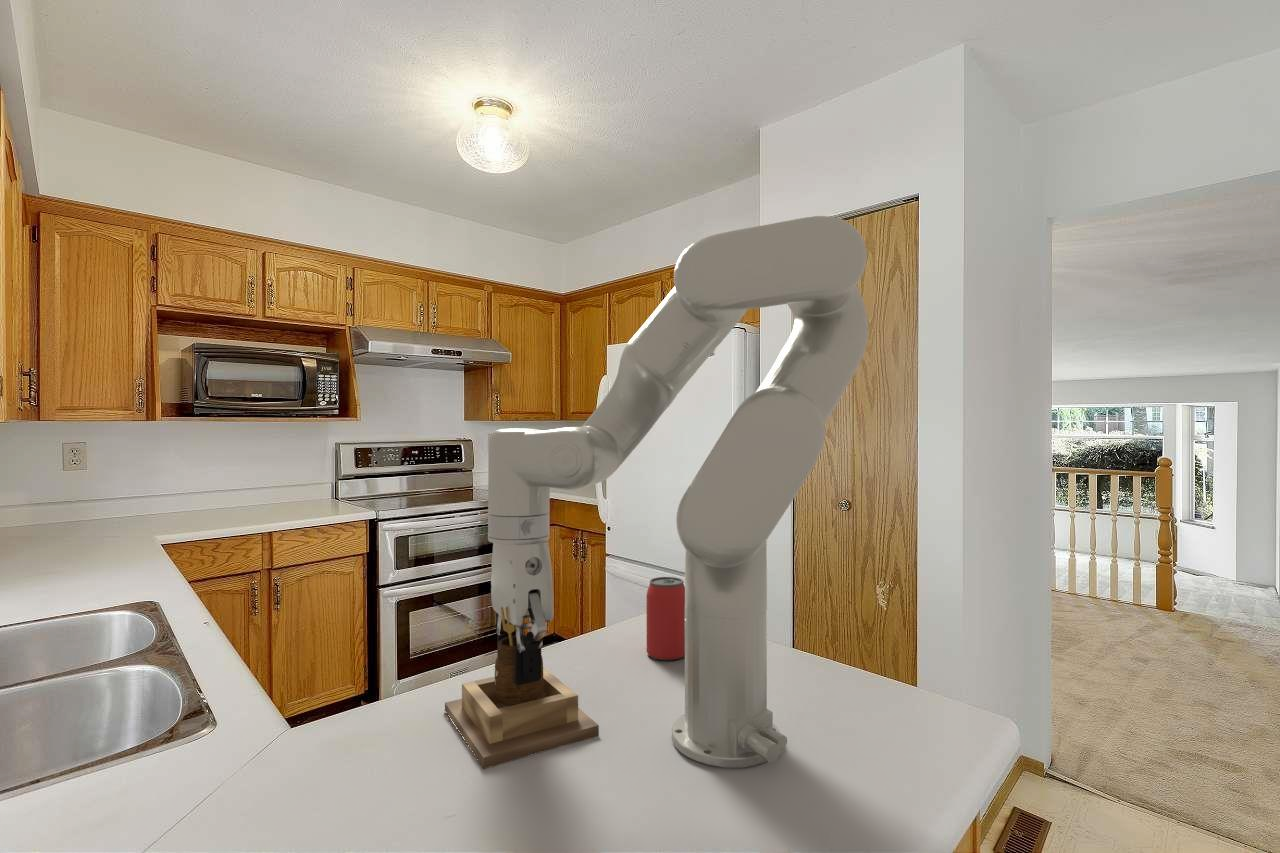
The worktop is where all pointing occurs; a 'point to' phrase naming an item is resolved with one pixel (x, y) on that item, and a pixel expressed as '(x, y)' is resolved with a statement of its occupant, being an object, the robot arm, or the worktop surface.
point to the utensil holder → (512, 671)
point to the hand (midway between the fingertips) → (518, 672)
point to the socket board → (518, 721)
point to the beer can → (666, 618)
